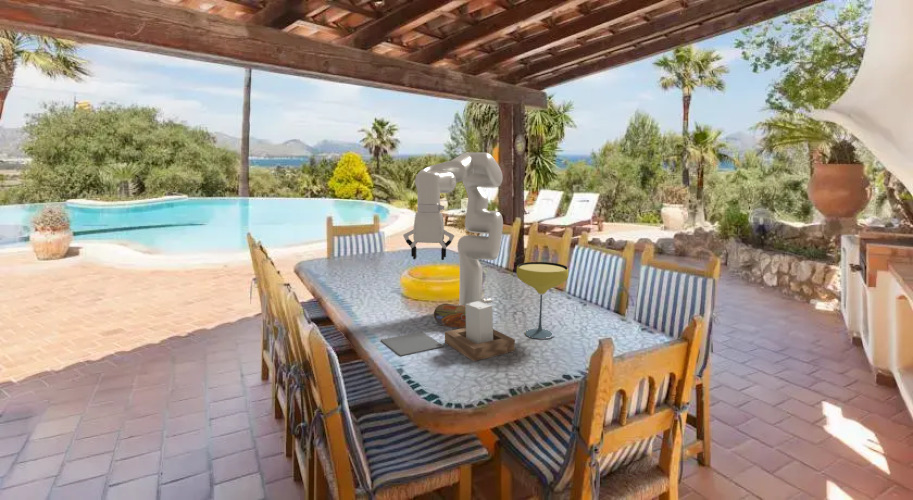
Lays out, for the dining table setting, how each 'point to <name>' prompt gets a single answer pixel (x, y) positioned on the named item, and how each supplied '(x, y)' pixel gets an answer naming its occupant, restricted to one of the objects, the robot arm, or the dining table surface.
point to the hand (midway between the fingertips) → (428, 259)
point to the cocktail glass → (541, 284)
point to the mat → (411, 343)
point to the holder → (480, 350)
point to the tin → (450, 315)
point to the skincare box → (479, 322)
